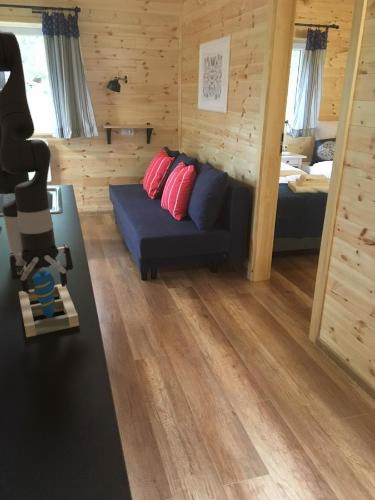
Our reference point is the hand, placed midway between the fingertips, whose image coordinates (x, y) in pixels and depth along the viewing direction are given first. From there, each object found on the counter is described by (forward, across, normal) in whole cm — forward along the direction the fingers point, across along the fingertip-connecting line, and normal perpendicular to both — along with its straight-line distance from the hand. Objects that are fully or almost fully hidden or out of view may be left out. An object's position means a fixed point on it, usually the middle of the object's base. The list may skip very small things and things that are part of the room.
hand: (45, 289), depth 105 cm
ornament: (+9, 0, 0) cm, 9 cm away
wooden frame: (+9, 0, -4) cm, 10 cm away
